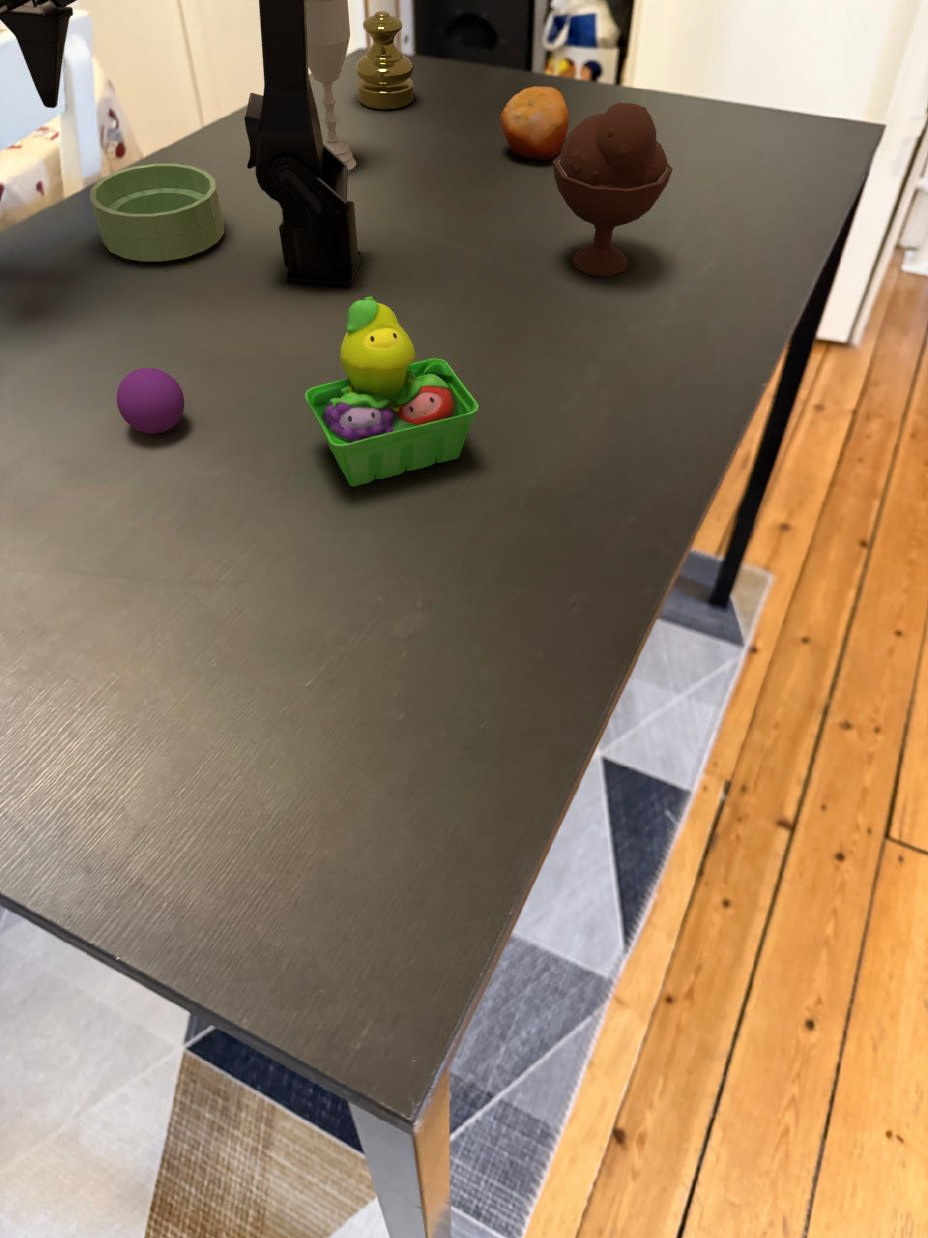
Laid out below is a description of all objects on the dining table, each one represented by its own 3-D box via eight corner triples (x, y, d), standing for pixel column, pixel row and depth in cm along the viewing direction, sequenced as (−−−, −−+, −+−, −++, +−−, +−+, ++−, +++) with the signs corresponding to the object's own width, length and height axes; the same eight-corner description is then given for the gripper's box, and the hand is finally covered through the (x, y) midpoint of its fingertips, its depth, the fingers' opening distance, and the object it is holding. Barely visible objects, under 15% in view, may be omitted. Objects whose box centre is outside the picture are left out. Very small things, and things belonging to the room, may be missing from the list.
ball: (199, 411, 73) (185, 357, 69) (177, 449, 69) (162, 395, 66) (140, 405, 73) (123, 352, 69) (116, 443, 70) (97, 389, 66)
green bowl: (240, 215, 96) (231, 167, 92) (202, 271, 88) (191, 220, 84) (132, 207, 97) (119, 159, 93) (84, 261, 89) (68, 211, 85)
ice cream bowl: (666, 249, 92) (696, 89, 80) (633, 299, 85) (660, 132, 74) (569, 228, 95) (585, 70, 83) (530, 275, 88) (542, 110, 77)
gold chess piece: (352, 108, 116) (345, 19, 109) (365, 88, 121) (360, 2, 114) (407, 112, 116) (404, 23, 108) (418, 92, 121) (416, 5, 113)
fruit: (587, 131, 108) (577, 79, 101) (557, 185, 108) (545, 136, 100) (529, 117, 111) (516, 65, 104) (500, 170, 110) (484, 121, 103)
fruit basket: (340, 503, 65) (323, 369, 57) (305, 434, 71) (285, 303, 62) (481, 465, 68) (485, 333, 60) (437, 402, 74) (435, 272, 65)
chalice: (353, 179, 102) (339, -7, 89) (297, 173, 103) (274, -12, 89) (370, 154, 107) (359, -26, 93) (316, 148, 108) (297, -31, 94)
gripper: (-75, -133, 72) (1, 81, 84) (-247, -81, 60) (-131, 160, 72) (48, -127, 70) (108, 91, 82) (-105, -72, 58) (-9, 174, 70)
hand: (22, 126), depth 77 cm, fingers open, 9 cm apart
